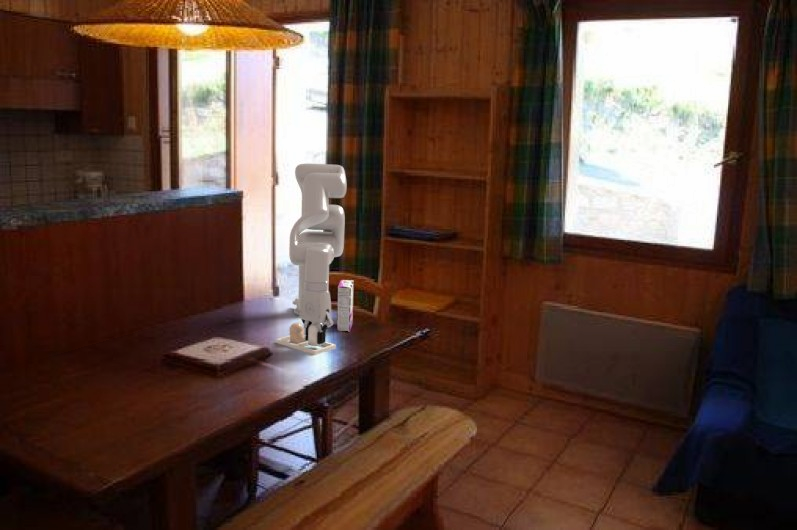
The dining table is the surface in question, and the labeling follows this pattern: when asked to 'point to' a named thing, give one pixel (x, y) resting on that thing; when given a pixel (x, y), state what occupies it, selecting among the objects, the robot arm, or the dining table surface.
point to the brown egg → (296, 333)
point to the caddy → (302, 345)
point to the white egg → (313, 334)
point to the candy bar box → (345, 305)
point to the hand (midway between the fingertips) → (315, 340)
